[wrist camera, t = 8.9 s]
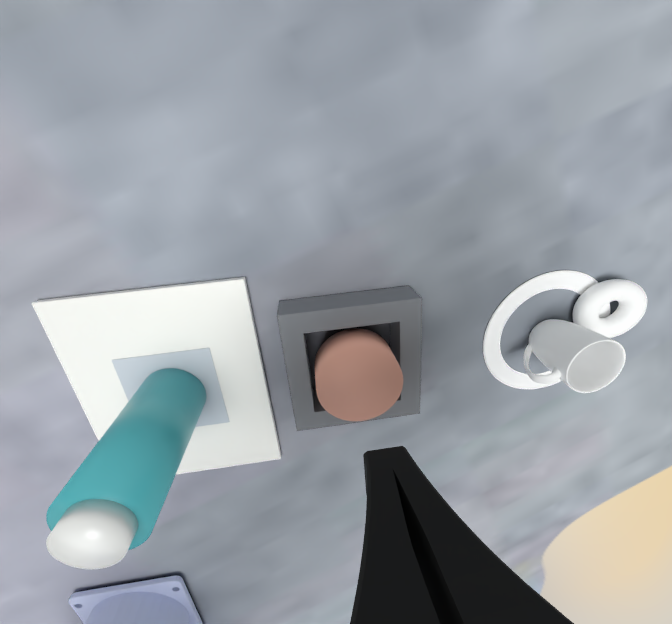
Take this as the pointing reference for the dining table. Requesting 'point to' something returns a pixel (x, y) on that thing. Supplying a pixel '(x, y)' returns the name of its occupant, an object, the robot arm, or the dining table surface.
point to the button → (357, 375)
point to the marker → (126, 474)
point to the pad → (170, 361)
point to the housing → (351, 312)
